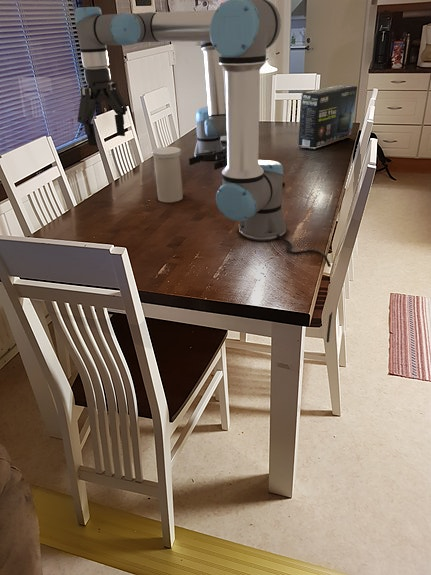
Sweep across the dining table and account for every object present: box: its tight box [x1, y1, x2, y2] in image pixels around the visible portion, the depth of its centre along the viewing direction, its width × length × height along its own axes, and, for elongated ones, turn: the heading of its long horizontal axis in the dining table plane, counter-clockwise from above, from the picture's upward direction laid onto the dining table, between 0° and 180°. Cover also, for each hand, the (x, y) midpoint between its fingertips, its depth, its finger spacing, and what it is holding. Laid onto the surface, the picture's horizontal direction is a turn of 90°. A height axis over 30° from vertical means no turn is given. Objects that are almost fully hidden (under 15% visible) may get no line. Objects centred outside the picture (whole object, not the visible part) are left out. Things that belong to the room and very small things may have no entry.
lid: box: [151, 146, 182, 159], centre depth 171 cm, size 11×11×2 cm
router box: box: [297, 84, 358, 151], centre depth 238 cm, size 36×11×27 cm, turn 134°
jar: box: [153, 155, 184, 203], centre depth 176 cm, size 10×10×18 cm
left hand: (201, 164), depth 188 cm, fingers open, 13 cm apart
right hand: (107, 140), depth 148 cm, fingers open, 13 cm apart
